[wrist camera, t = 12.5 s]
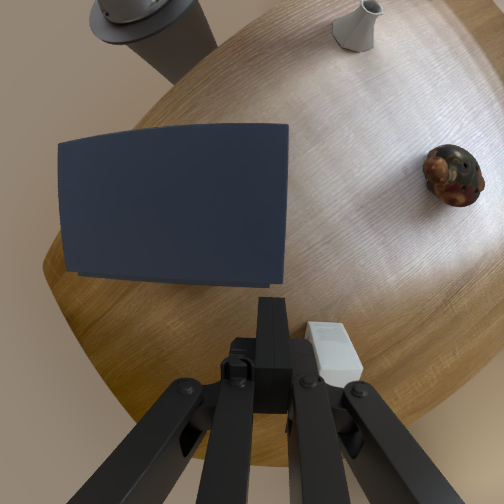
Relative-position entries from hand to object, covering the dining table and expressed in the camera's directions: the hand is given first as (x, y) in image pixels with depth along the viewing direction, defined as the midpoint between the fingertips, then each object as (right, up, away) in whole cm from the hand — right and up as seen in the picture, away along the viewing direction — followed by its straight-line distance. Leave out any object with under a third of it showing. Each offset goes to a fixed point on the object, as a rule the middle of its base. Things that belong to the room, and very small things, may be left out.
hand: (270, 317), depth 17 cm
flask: (+15, +38, +16) cm, 44 cm away
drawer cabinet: (-8, +13, +24) cm, 29 cm away
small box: (+11, -11, +30) cm, 34 cm away
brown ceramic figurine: (+31, +17, +21) cm, 41 cm away
